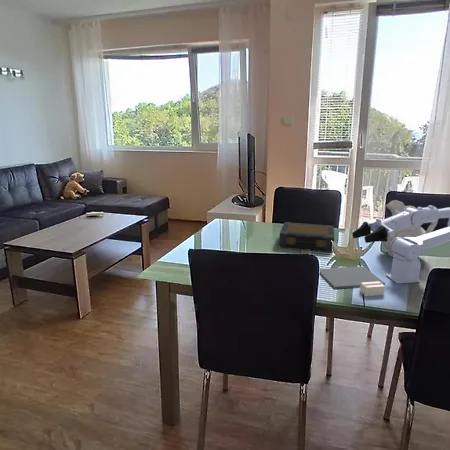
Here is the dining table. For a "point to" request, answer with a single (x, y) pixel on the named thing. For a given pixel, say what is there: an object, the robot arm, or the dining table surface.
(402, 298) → the dining table surface
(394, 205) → the ceramic pitcher
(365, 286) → the white rectangular block
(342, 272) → the slate mat
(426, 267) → the dining table surface
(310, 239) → the cash box
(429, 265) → the dining table surface
